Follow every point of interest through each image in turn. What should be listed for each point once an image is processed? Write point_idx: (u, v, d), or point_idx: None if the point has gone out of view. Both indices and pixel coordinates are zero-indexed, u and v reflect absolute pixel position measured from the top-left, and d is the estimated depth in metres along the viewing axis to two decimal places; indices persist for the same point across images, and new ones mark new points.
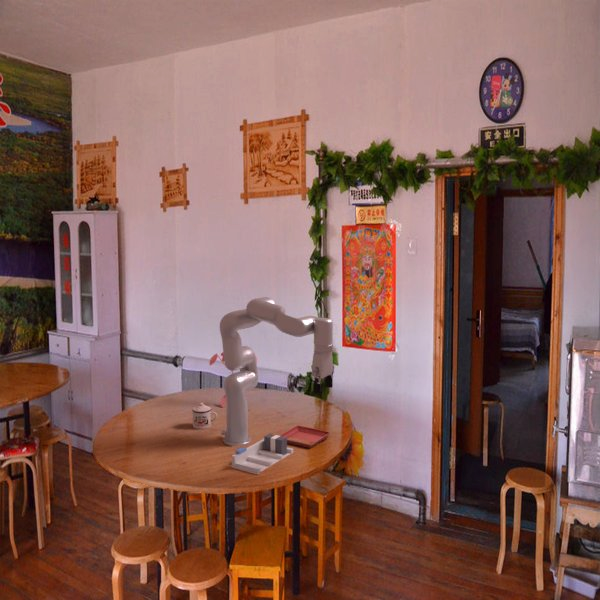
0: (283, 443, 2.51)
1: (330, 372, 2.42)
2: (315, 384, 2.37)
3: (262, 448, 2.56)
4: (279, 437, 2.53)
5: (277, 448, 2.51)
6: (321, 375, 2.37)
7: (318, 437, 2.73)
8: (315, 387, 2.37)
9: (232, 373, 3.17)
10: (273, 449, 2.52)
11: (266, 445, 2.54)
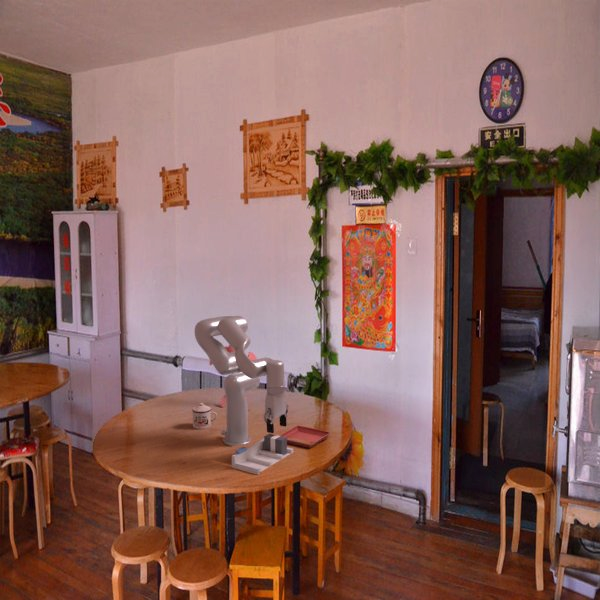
0: (283, 443, 2.51)
1: (283, 412, 2.53)
2: (268, 424, 2.47)
3: (262, 448, 2.56)
4: (279, 437, 2.53)
5: (277, 448, 2.51)
6: (273, 415, 2.47)
7: (318, 437, 2.73)
8: (268, 427, 2.48)
9: (232, 373, 3.17)
10: (273, 449, 2.52)
11: (266, 445, 2.54)
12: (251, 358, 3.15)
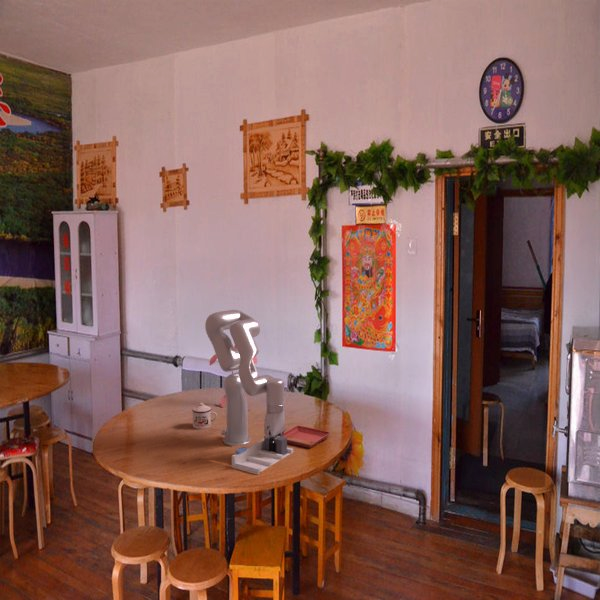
0: (283, 443, 2.51)
1: (282, 430, 2.54)
2: (270, 443, 2.51)
3: (262, 448, 2.56)
4: (279, 437, 2.53)
5: (277, 448, 2.51)
6: (272, 434, 2.48)
7: (318, 437, 2.73)
8: (270, 446, 2.51)
9: (232, 373, 3.17)
10: None
11: (266, 445, 2.54)
12: None
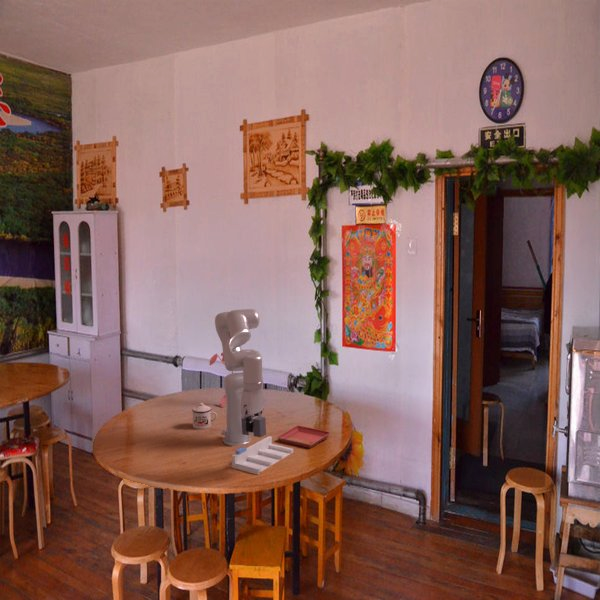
0: (261, 422, 2.36)
1: (260, 409, 2.39)
2: (247, 423, 2.36)
3: (262, 448, 2.56)
4: (257, 417, 2.38)
5: (255, 429, 2.36)
6: (249, 413, 2.33)
7: (318, 437, 2.73)
8: (247, 426, 2.36)
9: None
10: None
11: (244, 427, 2.39)
12: None
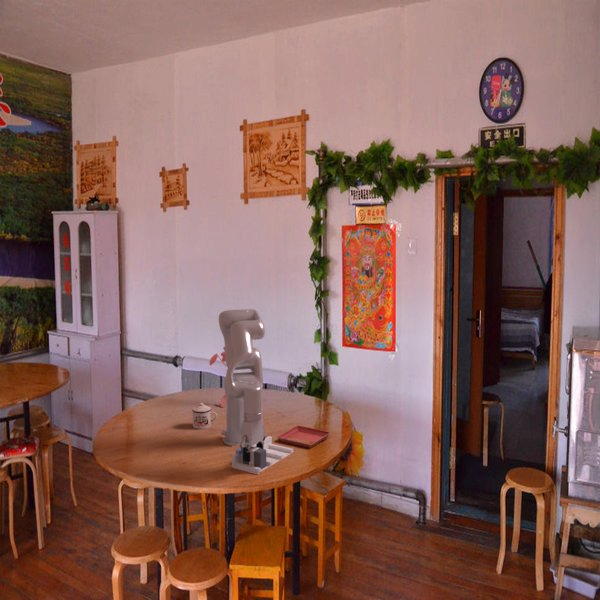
0: (262, 455, 2.37)
1: (261, 439, 2.41)
2: (244, 453, 2.36)
3: None
4: (258, 449, 2.39)
5: (256, 461, 2.38)
6: (250, 443, 2.35)
7: (318, 437, 2.73)
8: (244, 456, 2.36)
9: None
10: (252, 462, 2.39)
11: None
12: None
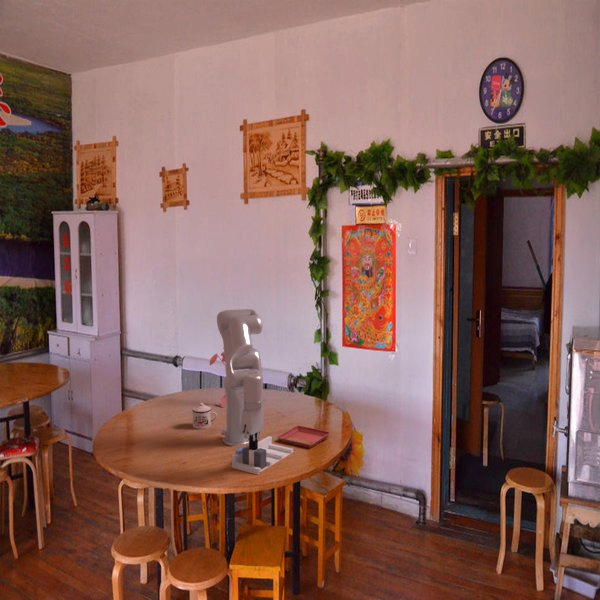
0: (262, 455, 2.37)
1: (261, 428, 2.40)
2: (250, 441, 2.38)
3: (262, 448, 2.56)
4: (258, 449, 2.39)
5: (256, 461, 2.38)
6: (250, 432, 2.34)
7: (318, 437, 2.73)
8: (250, 444, 2.39)
9: None
10: (252, 462, 2.39)
11: (244, 458, 2.40)
12: None
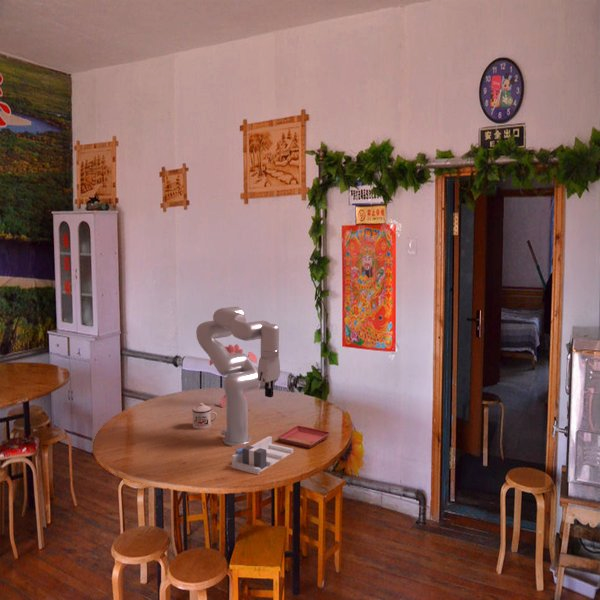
0: (262, 455, 2.37)
1: (276, 377, 2.49)
2: (266, 388, 2.48)
3: (262, 448, 2.56)
4: (258, 449, 2.39)
5: (256, 461, 2.38)
6: (265, 379, 2.43)
7: (318, 437, 2.73)
8: (266, 391, 2.48)
9: None
10: (252, 462, 2.39)
11: (244, 458, 2.40)
12: (251, 358, 3.15)
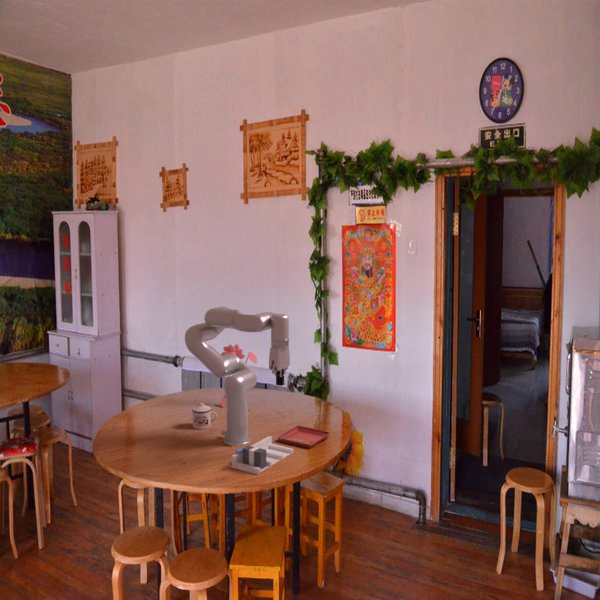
0: (262, 455, 2.37)
1: (287, 365, 2.56)
2: (277, 377, 2.54)
3: (262, 448, 2.56)
4: (258, 449, 2.39)
5: (256, 461, 2.38)
6: (277, 368, 2.50)
7: (318, 437, 2.73)
8: (277, 380, 2.54)
9: None
10: (252, 462, 2.39)
11: (244, 458, 2.40)
12: (251, 358, 3.15)
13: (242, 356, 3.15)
